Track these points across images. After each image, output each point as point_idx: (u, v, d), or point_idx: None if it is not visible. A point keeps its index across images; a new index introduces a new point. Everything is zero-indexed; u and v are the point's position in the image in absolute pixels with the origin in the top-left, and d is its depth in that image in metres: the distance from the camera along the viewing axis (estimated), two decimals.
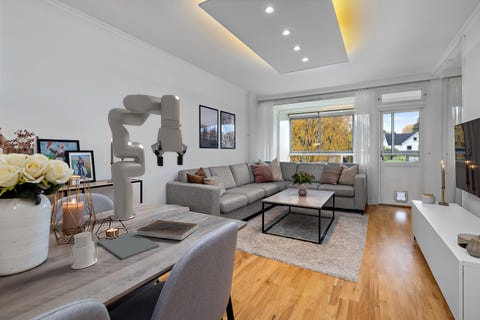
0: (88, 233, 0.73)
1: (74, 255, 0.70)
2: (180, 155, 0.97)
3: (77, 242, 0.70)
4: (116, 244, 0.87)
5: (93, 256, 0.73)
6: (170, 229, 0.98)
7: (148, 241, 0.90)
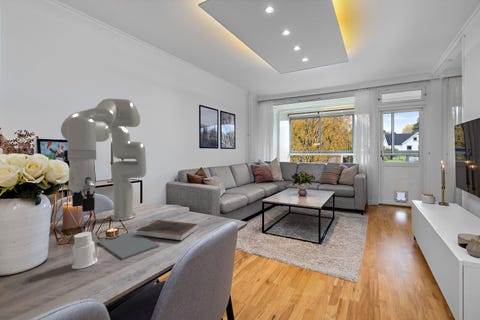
0: (88, 233, 0.73)
1: (74, 255, 0.70)
2: (80, 193, 0.75)
3: (77, 242, 0.70)
4: (116, 244, 0.87)
5: (93, 256, 0.73)
6: (170, 229, 0.98)
7: (148, 241, 0.90)
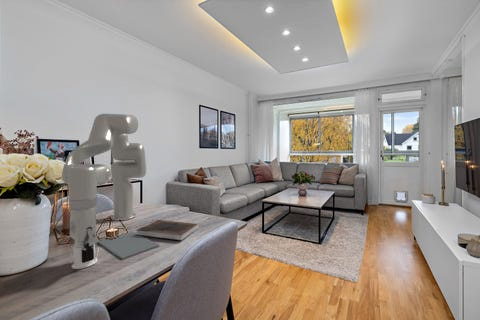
0: None
1: (74, 255, 0.70)
2: None
3: (77, 242, 0.70)
4: (116, 244, 0.87)
5: None
6: (170, 229, 0.98)
7: (148, 241, 0.90)
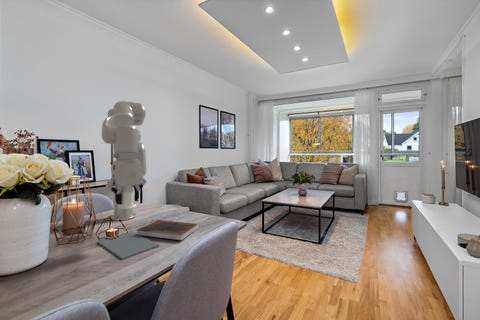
0: None
1: (131, 197, 0.87)
2: None
3: (131, 186, 0.87)
4: (116, 244, 0.87)
5: None
6: (170, 229, 0.98)
7: (148, 241, 0.90)
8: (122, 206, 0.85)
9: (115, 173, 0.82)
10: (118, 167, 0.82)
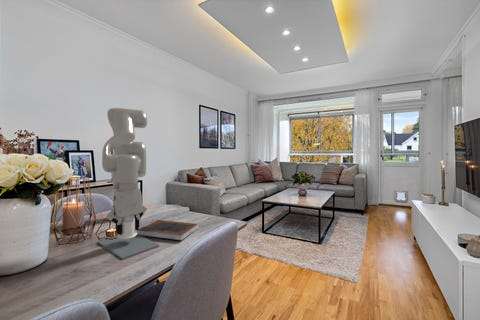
0: None
1: (132, 227, 0.87)
2: None
3: (132, 216, 0.88)
4: (116, 244, 0.87)
5: None
6: (170, 229, 0.98)
7: (148, 241, 0.90)
8: (122, 236, 0.86)
9: (116, 204, 0.83)
10: (118, 198, 0.83)
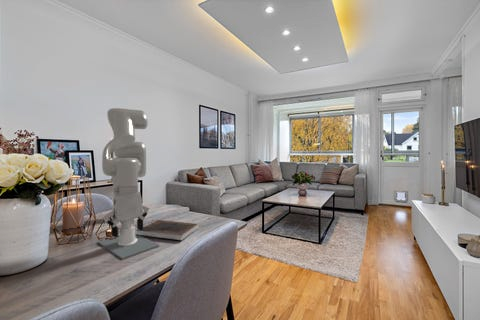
0: None
1: (132, 233, 0.87)
2: None
3: (132, 222, 0.88)
4: (116, 244, 0.87)
5: None
6: (170, 229, 0.98)
7: (148, 241, 0.90)
8: (123, 243, 0.86)
9: (116, 208, 0.83)
10: (119, 202, 0.83)
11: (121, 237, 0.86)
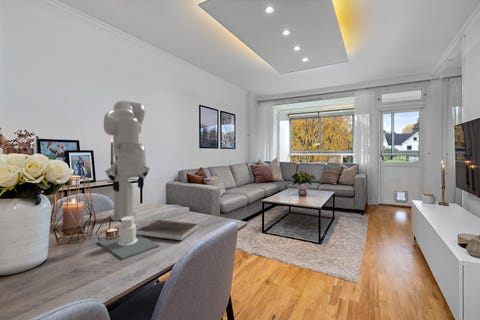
0: (127, 217, 0.90)
1: (132, 233, 0.87)
2: None
3: (132, 222, 0.88)
4: (116, 244, 0.87)
5: None
6: (170, 229, 0.98)
7: (148, 241, 0.90)
8: (123, 243, 0.86)
9: (117, 163, 0.86)
10: (120, 157, 0.85)
11: (121, 237, 0.86)
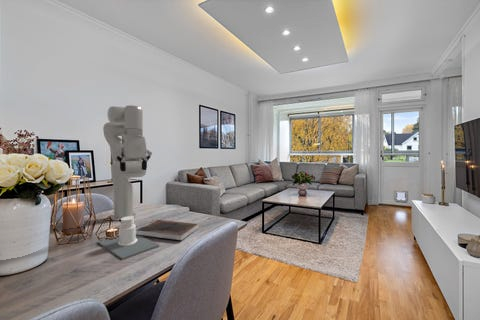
0: (127, 217, 0.90)
1: (132, 233, 0.87)
2: None
3: (132, 222, 0.88)
4: (116, 244, 0.87)
5: None
6: (170, 229, 0.98)
7: (148, 241, 0.90)
8: (123, 243, 0.86)
9: (124, 146, 0.97)
10: (126, 141, 0.97)
11: (121, 237, 0.86)
